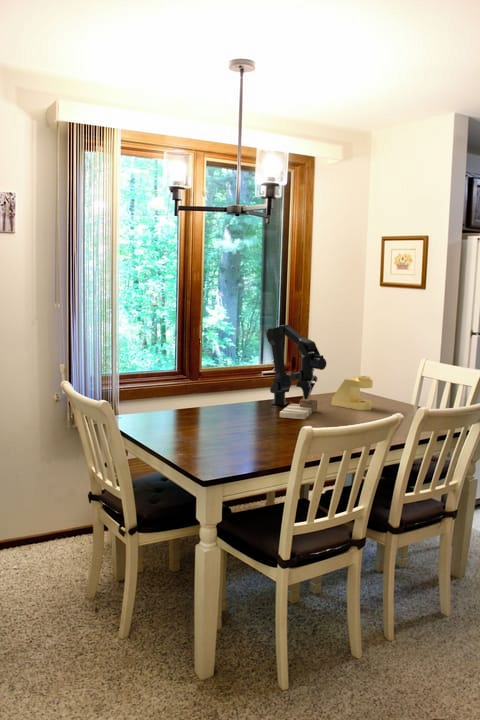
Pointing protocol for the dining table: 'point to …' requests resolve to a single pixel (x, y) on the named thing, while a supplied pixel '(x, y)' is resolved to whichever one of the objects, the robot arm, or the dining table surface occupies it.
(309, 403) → the stacked cube assembly
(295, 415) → the board
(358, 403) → the clamp
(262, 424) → the dining table surface
